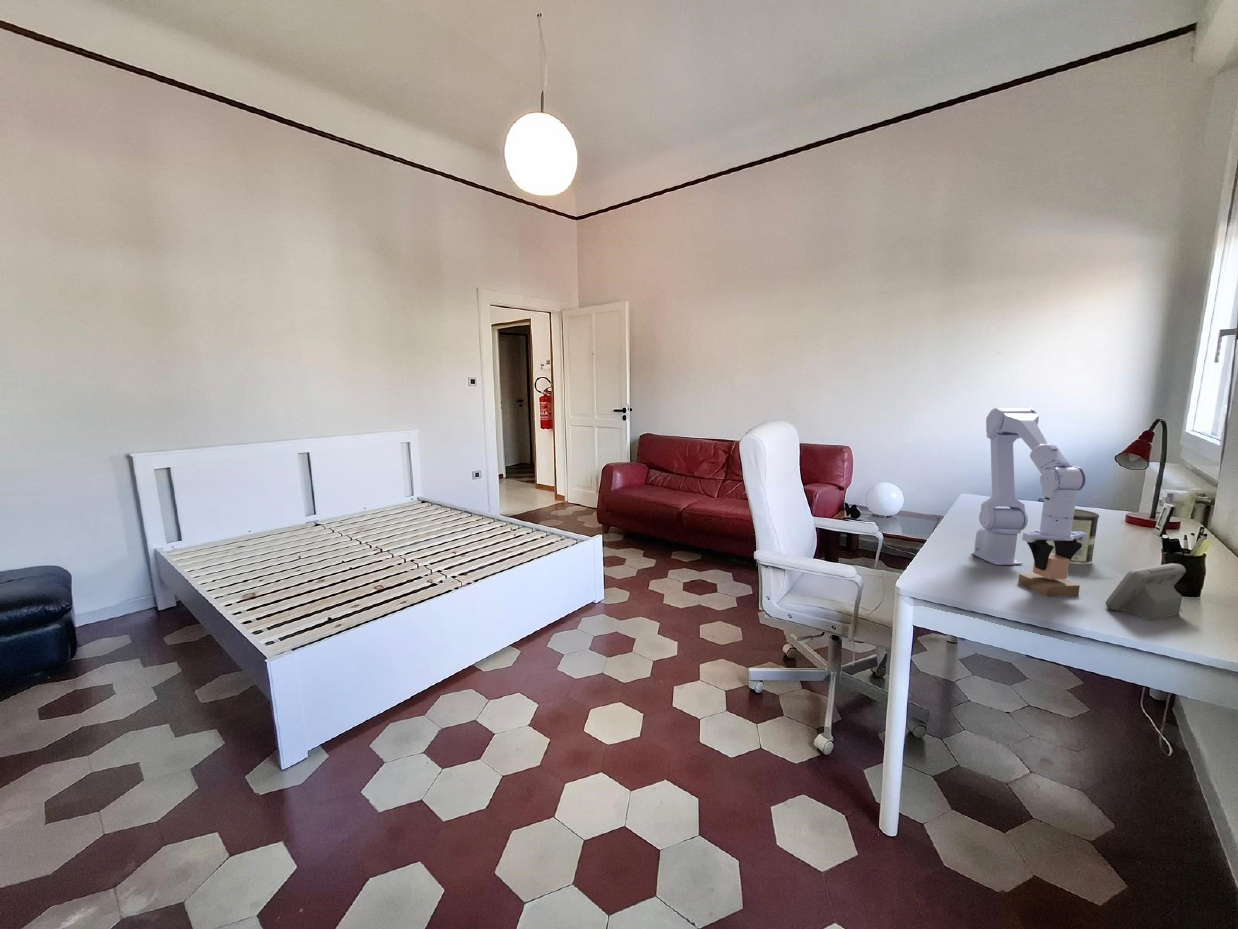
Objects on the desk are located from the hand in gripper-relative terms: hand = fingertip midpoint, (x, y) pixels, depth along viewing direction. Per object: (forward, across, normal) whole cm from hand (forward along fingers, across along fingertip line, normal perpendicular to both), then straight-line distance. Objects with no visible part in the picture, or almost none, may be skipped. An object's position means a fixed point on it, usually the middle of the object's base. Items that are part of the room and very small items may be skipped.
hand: (1050, 568), depth 120 cm
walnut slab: (+6, 0, 0) cm, 6 cm away
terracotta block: (+2, 0, 0) cm, 2 cm away
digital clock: (+6, +11, -12) cm, 17 cm away
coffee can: (+6, +25, +20) cm, 33 cm away
